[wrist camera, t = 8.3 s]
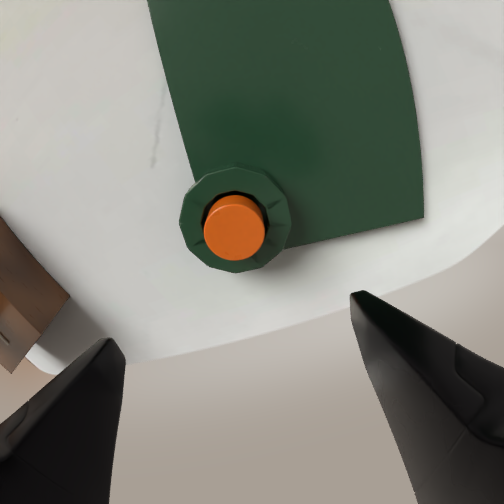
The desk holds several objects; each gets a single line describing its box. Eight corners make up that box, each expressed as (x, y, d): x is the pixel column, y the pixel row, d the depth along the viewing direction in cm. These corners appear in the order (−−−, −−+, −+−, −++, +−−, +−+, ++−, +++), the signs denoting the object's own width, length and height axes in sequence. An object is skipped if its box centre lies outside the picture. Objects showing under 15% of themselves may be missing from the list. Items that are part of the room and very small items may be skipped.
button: (268, 239, 17) (270, 254, 15) (216, 251, 17) (213, 266, 15) (256, 188, 15) (257, 197, 14) (200, 202, 16) (195, 212, 14)
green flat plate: (419, 214, 18) (437, 227, 16) (204, 262, 20) (199, 282, 17) (369, -36, 11) (383, -50, 8) (131, 2, 12) (115, -10, 10)
